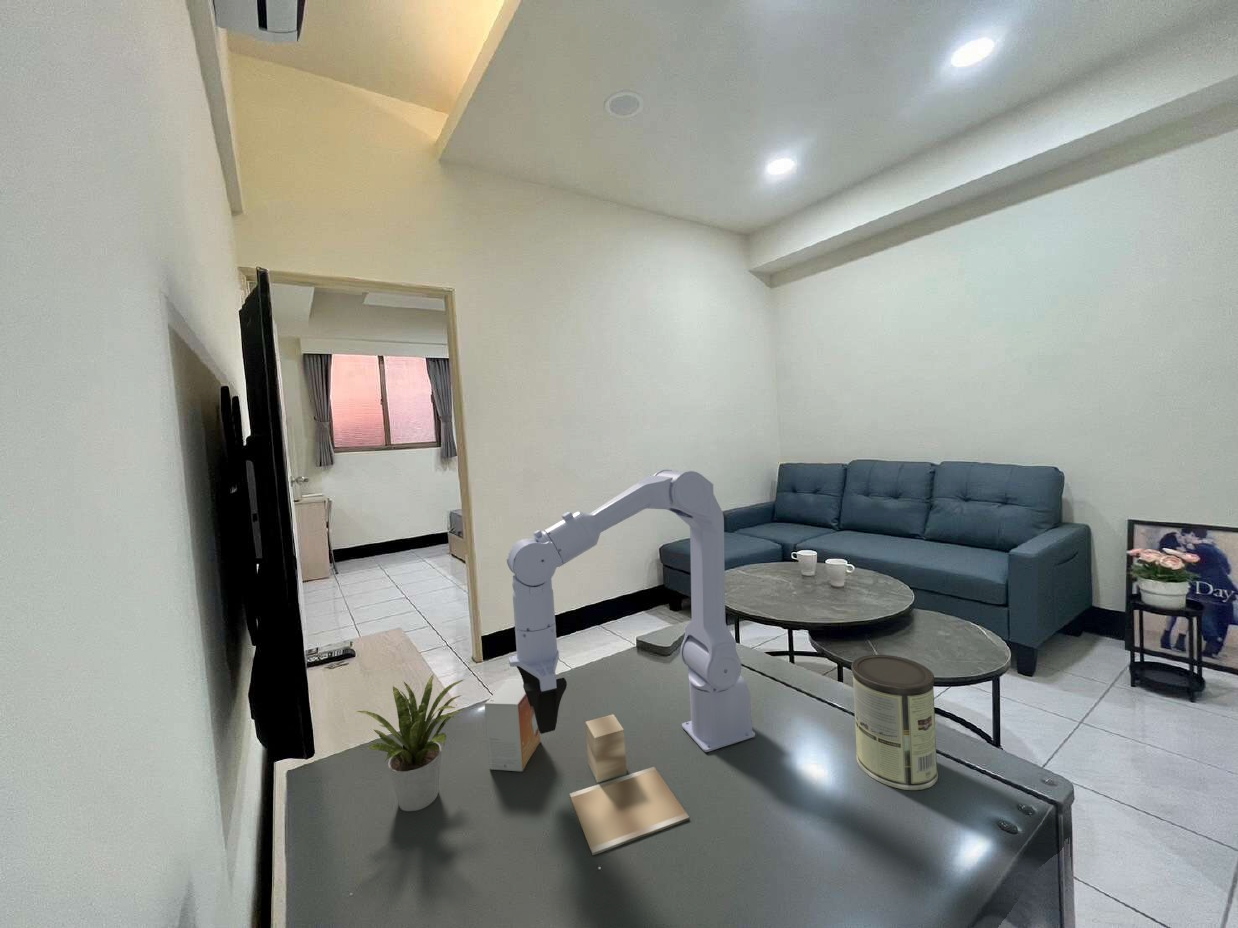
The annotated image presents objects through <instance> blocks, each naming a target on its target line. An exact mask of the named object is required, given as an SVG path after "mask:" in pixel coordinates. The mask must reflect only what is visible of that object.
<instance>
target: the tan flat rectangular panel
mask: <svg viewBox="0 0 1238 928" xmlns="http://www.w3.org/2000/svg"><path fill="white" fill-rule="evenodd" d="M569 799H570V801H571V803H572V806H573V809H574V811H575V813H576V815H577V818H578V822H579V823H580V824H579V825H580V826H581V829H582V831H583V835H584V836H585V839H586V841H587V845H588V847H589V850H590V852H591V855H592V856H595V855H599V854H601V853H603V852H605V851H609V850H611V849H615V848H616V847H621V846H622V844H623V845H625V844H628V843H630V842H633V841H635V840H638V839H641V838H644V837H647V836H650V835H652V834H655V833H657V832H660V831H663V830H665V829H668V828H671V827H674V826H676V825H679V824H681V823H684V822H687V821H689V820H690V816H689V815H688V813H687V812H686V810H685V809H684V807H683V806H682V805H681V803H680V802H679V800H678V799H677V798H676V797H675V795H674V793H673V792H672V791H671V789H670V787H669V786H668V785H667V783H666V782H665V780H664V779H663V778H662V775H660V773H659V772H658V770H657V769H656V767H655V766H652V767H649V768H645V769H642V770H639V771H636V772H632V773H630V774H627V775H626V776H623V777H620V778H617V779H614V780H610V781H607V782H604V783H601V784H598V785H597V784H595V785H593V786H592V785H591V786H589V787H586V788H583V789H579V790H577V791H573V792H571V793H569ZM624 843H625V844H624Z"/></svg>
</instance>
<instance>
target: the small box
mask: <svg viewBox="0 0 1238 928" xmlns="http://www.w3.org/2000/svg"><path fill="white" fill-rule="evenodd" d="M523 684H524V683H523V679H517V678H516V679H515V678H513V679H512V678H507V679H505V680H504V681H503V682H502V684H501V685H500V686H499V687H498V689H496V691H495V692H494V693H493V694H492V695H491V696H490V697H489V699H487V701H485V702H484V713H485V727H486V740H487V755H488V767H489V770H495V771H509V772H510V771H512V772H523V771H524V769H525V768H526V766H527V764H528V763H529V761H530V759H531V758H532V755H533V754H534V752H535V751H536V749H537V747H538V746H539V744H540V743H541V734H540V731H539V729H538V726H537V722H536V718H535V713H534V709H533V706H530V704H529V702H528V699H527V695H526V693H525V690H524V688H523Z"/></svg>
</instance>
